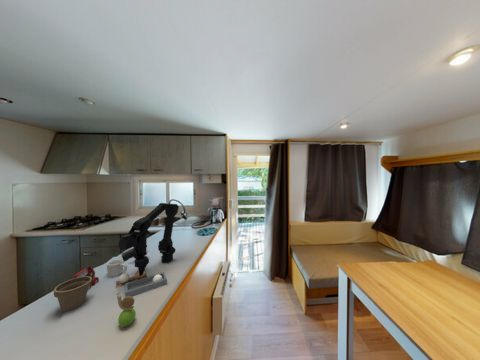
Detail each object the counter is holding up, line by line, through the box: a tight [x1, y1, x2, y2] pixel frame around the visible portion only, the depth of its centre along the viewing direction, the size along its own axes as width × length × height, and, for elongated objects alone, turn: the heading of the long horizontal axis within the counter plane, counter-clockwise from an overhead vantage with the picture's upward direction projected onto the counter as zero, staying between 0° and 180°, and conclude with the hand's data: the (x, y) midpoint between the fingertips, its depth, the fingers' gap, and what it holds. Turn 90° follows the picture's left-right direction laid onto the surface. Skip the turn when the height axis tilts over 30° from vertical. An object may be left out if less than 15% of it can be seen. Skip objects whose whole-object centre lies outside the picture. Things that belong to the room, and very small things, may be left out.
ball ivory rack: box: [118, 272, 130, 283], centre depth 85 cm, size 4×4×4 cm
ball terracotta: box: [134, 269, 146, 278], centre depth 89 cm, size 4×4×4 cm
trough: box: [124, 272, 168, 298], centre depth 81 cm, size 18×8×4 cm, turn 127°
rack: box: [115, 272, 148, 289], centre depth 87 cm, size 14×7×2 cm, turn 127°
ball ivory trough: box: [152, 273, 163, 283], centre depth 84 cm, size 4×4×4 cm
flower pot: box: [53, 276, 92, 313], centre depth 69 cm, size 12×11×10 cm
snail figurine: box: [116, 291, 137, 327], centre depth 61 cm, size 5×6×12 cm
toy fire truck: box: [72, 265, 99, 291], centre depth 81 cm, size 7×12×10 cm, turn 9°
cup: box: [106, 258, 128, 278], centre depth 93 cm, size 11×8×8 cm
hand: (140, 271), depth 89 cm, fingers open, 9 cm apart
